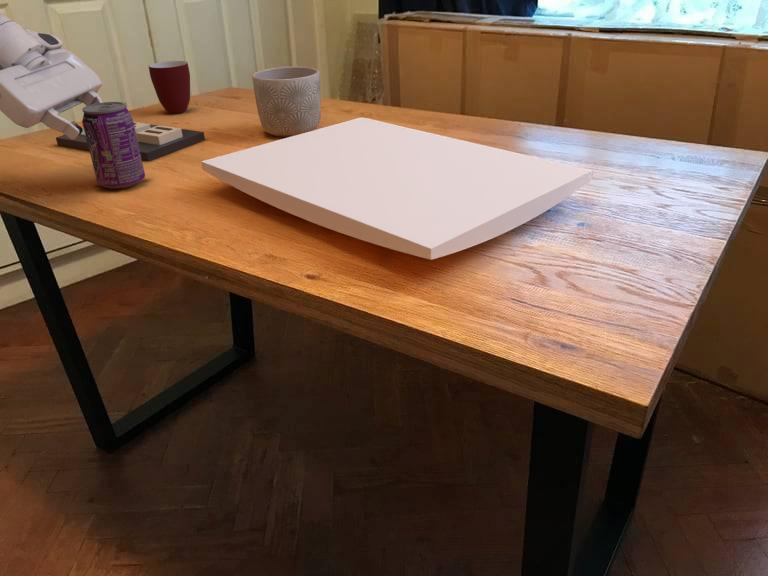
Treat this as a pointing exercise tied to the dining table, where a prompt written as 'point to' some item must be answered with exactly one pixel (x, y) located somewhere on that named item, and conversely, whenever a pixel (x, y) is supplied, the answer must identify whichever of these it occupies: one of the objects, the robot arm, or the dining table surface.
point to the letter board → (143, 147)
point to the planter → (288, 100)
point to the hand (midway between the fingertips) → (94, 126)
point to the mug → (171, 85)
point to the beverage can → (113, 145)
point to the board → (400, 185)
